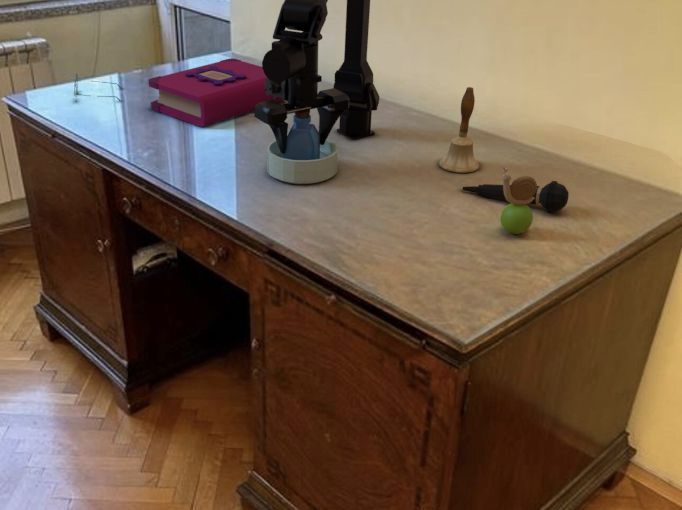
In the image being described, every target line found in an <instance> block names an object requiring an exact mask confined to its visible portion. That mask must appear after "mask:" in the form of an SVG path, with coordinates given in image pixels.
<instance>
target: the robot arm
mask: <svg viewBox="0 0 682 510" xmlns="http://www.w3.org/2000/svg"><path fill="white" fill-rule="evenodd" d="M328 2H329V0H284V1H283V3H282V5H281V7H280V10H279V13H278V17H277V20H276V24H275V27H274V29H273V34H272V39H273V40H274V41H272V42H271V49H270V50H268V51H267V52H266V53H264V56H263V58H262V61H261V67H262V68H263V71H264V73H265V75H266V76H267V78H266V79H265V83H264V88H265V93H266V95H272V94H273V96H274V99H277V98H279V97H281V99H282V100H284V101H283V102H286V103H283V104H281V103H280V102H279V103H278V102H276V101H274V100H270V101H265V102H260V103H257V105H256V106H255V109H254V111H253V113H254V118H255V119H257V120H259V121H261V122H263V123H264V124H266V125H268V126H269V128H270V129H271V131H272V133H273V135H274V138H275V140H276V141H277V144H278V147H279V149H280V152H281V153H282V154H285V151H286V144H287V135H288V133H289V123H288V122H286V120H287V119H288V115H290V114H295V112H300V111H305V110H310V111H311V110H314V109H316V110H317V113H318V132H319V134H320V144H321V145H324V143H325V141H326V139H327V140H328V137H329V135H330V133H331V132H332V130H333V128H334V127H335V125H336V123H337V121H338V119H339V125H338V126H339V128H337V129H336V133H339V134H340V135H342V136H345V137H346V138H347V139H348V138H349V139H350V140H357V139H361V138H366V137H370V136H374V135H376V132H375V131H374V130H372V114H373V111H377V110H378V107H379V105H380V94H379V92H378V90H377V88H376V86H375V84H374V72H373V69H372V68H371V66H370V64H369V62H368V43H369V27H370V13H371V11H370V10H371V0H346V8H345V9H346V11H345V30H344V31H345V32H344V33H345V34H344V54H343V55H344V56H343V57H344V58H343V62H342V64H341V65H340V67H339V68H338V69H337V70H336V71H335V73H334V83H333V88H327V89H323V90H319V89H318V87H319V83H321V82H322V79H323V78H322V75H320V74H319V41H322V40H323V35H322V34H321V32H322V30H323V27H324V25H325V22H326V19H327V17H328V14H329V13H328V12H329V11H328V6H327V4H328ZM318 90H319V91H318Z"/></svg>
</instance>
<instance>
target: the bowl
mask: <svg viewBox="0 0 682 510" xmlns="http://www.w3.org/2000/svg"><path fill="white" fill-rule="evenodd" d="M338 151H339V147H338V146H337V145H336V143H335V142H333V141H331V140H329V139H328V138H327V139H326V141H325V143H324V145H321V144H320V159H316V160H291V159H285V158H284V154H282V153H281V152H280V149H279V147H278V144H277V141H276V139H275V140H272V141H271V142H270V143H268V144H267V145H266V171H267V173H268V175H269V176H271V177H272V178H274V179H275V180H278V181H281V182H283V183H287V184H293V185H310V184H317V183H321V182H324V181H327V180H329V179H331V178H333V177H334V176H335V175H336V174H337V173H338V156H339V155H338Z"/></svg>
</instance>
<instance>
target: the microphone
mask: <svg viewBox="0 0 682 510" xmlns="http://www.w3.org/2000/svg"><path fill="white" fill-rule="evenodd" d="M510 186H511V184H510ZM461 189H462V191H465V192H470V193H475V194H476V195H477V196H480V197H484V198H490V199H497V200H502V201H507V200H506V198H505V195H504V190H503V184H493V183H491V184H490V183H483V184H478V185H477V186H476V185H473V186H472V185H471V186H462V188H461ZM569 195H570V193H569V190H568V189H567V187H566V186H565V185H564V184H562V183H559V182H558V180H551V181H550V182H549V183H547V184H546V185H544V186H543V187H542V186H541V185H537V190H536V193H535V194H534V195H533V196H532V197H534V200H533V201H532V202H530V203H529V204H528V205H533V206H534V205H535V206H538V205H540V206H541V207H542V208H543V209H544V210H545V212H547V213H551V214H552V213H553V212H558V211H561V210H562V209H564V208H565V207H566V206H567V204H568V201H569Z"/></svg>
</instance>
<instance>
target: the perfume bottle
mask: <svg viewBox="0 0 682 510" xmlns="http://www.w3.org/2000/svg"><path fill="white" fill-rule="evenodd" d="M310 113H311V109H310V110H305V111H300V112H295V113H294V115H293V118H292V119H293V124H292V125H291V128H290V130H288V132H287V144H286V151H285V154H284V158H285V159H291V160H316V159H320V134H319V129H318V128H317V127H316V125H315V124H314V123H312V115H311V114H310Z"/></svg>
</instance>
